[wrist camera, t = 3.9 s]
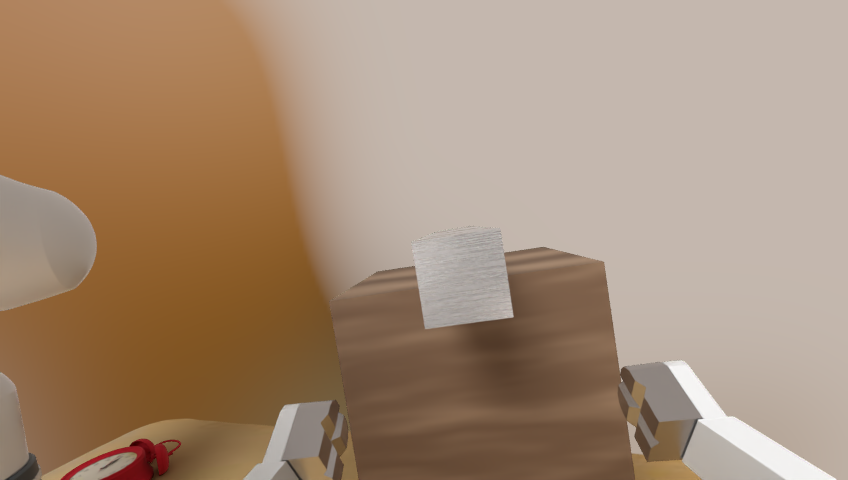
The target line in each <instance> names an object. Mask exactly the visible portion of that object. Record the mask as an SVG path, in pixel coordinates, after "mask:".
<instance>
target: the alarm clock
mask: <svg viewBox="0 0 848 480" xmlns="http://www.w3.org/2000/svg"><path fill="white" fill-rule="evenodd" d="M171 441H172V442H178V443H179V445H178V446H177V447H176V448H175V449H173V450H172V451H170V452H169V453H168V452H167V449H166V447H165V446H164V445H163V443H166V442H171ZM180 445H181V442H180V441H178V440H167V441H163V442H161V443H159V444H156V445H154V444H153V443H152V442H151V441H150V440H148V439H139V440H136V441H134V442H132V443H131V445H130V446H129V447H125V448H121V449H117V450H114V451H111V452H108V453H105V454H102V455H100V456H98V457H95V458H93V459H91V460H89V461H87V462H85V463H83V464H81V465H79V466H78V467H76V468H75V469H73V470H71V471H70V472H69V473H67V474H66V475H65V476H64V477H63V478H62V479H61V480H151V478H152V477H153V474H154V471H153V467H152V466H150V465H149V464H150V463H151V462H152V461H153V460H154V459H155V458H156V459H157V465H158V470H159V476H160V475H162V474H164V473H165V472H166V471H167V469H168V467H169V457H168V456H170V455H172V454H173V451H175V450H176V449H178V448H179V447H180ZM155 455H156V456H155ZM148 462H150V463H148Z"/></svg>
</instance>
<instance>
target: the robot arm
mask: <svg viewBox="0 0 848 480" xmlns="http://www.w3.org/2000/svg"><path fill="white" fill-rule="evenodd" d="M96 249H97V243H96V236H95V233H94V230H93V227H92V225H91V223H90V221H89V220H88V219H87V217H86V216H85V214H84V213H83V212H82V211H81V210H80V209H79V208H78V207H77V206H76V205H75V204H73V203H72V202H71V201H69V200H68V199H66V198H65V197H64V196H61V195H60V194H58V193H56V192H54V191H50V190H46V189H42V188H38V187H34V186H31V185H27V184H24V183H21V182H18V181H15V180H12V179H10V178H7V177H5V176H2V175H0V311H3V310H9V309H12V308H15V307H18V306H22V305H25V304H29V303H32V302H35V301H39V300H42V299H45V298H48V297H51V296H54V295H57V294H60V293H63V292H66V291H69V290H72V289H74V288H76V287H77V286H78V285H79V284H80V283H81V282H82V281H83V280H84V278H85V277H86V276H87V274H88V273H89V271H90V269H91V267H92V265H93V263H94V260H95V256H96ZM620 376H621V378H622V379H623V382H621V383H620V384H619V385H618V392H617V394H618V400H619V404H620V407H621V410H622V412H623V414H624V416H625V418H626V420H627V421H628V422H629V423H631V424H632V425H634V426H635V427H636V432H635V439H636V441H637V442H638V445H639V446H640V448H641V450H642V452H643V454H644V456H645V458H646V460H647V462H654V461H669V460H682V462H683V463H684V464H685V465H686V466H687V467H689V468H690V469H691V470H692V471H693V472H694V473H695V474H697V475H698V476H699V477H700V478H701V479H702V480H837V479H835V478H833V477H832V476H830V475H828V474H827V473H825V472H824V471H822V470H820V469H819V468H817V467H815V466H814V465H812V464H811V463H809V462H807V461H806V460H804V459H802V458H801V457H799V456H797V455H796V454H794V453H793V452H791V451H789V450H788V449H786V448H785V447H783V446H781V445H780V444H778V443H776V442H775V441H773V440H771V439H770V438H768V437H767V436H765V435H763V434H762V433H760V432H758V431H757V430H755V429H754V428H752V427H750V426H749V425H747V424H745V423H744V422H742V421H741V420H739V419H737V418H736V417H734V416H728V417H727V416H726V414H725V413H724V412H723V411H722V409H721V408H720V407H719V405H718V404H717V403H716V401H715V400H714V399H713V397H712V396H711V395H710V393H709V392H708V391H707V390H706V388H705V387H704V385H703V384H702V383H701V381H700V380H699V379H698V377H697V376H696V375H695V374H694V372H693V371H692V370H691V368H690V367H689V366H688V364H687V363H686V362H684V361H683V360H675V361H668V362H655V363H648V364H640V365H632V366H625V367H623V368H622V369H621V373H620ZM347 442H348V426H347V421H346V418H345V416H344V415H342V414H341V413H339V404H338V403H337V401H336V400H331V401H320V402H310V403H299V404H290V405H285V406H284V407H283V409H282V410H281V411H280V414H279V417H278V419H277V422H276V425H275V428H274V431H273V434H272V437H271V439H270V442H269V445H268V448H267V451H266V454H265V456H264V459H263V462H262V463H260V464H257V465H256V466H255V467H254V468H253V469H252V470H251V471H250V472H249V473H248V475H247V476H246V477H245V478H244V479H243V480H341V478H342V472H343V466H344V465H343V463H342V461H341V459H340V456H341V455H342V454H343V453H344V451H345V450H346V448H347ZM41 476H42V472H41V468H40V465H39V464H37V460H36V457H35V455H33V454H31V453H28V449H27V443H26V438H25V432H24V428H23V422H22V417H21V411H20V406H19V401H18V396H17V390H16V386H15V385H14V383H13V382H12V381H11V380H10V379H9V378H8V377H7V376H6V375H4V374H3V373H1V372H0V480H41Z"/></svg>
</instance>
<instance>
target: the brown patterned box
mask: <svg viewBox="0 0 848 480" xmlns="http://www.w3.org/2000/svg"><path fill="white" fill-rule="evenodd" d="M504 256H505V263H506V270H507V276H508V283H509V290H510V296H511V303H512V309H513V316H514V317H513V318H505V319H498V320H490V321H483V322H475V323H468V324H460V325H453V326H445V327H438V328H430V329H425V326H424V319H423V313H422V307H421V300H420V294H419V288H418V281H417V275H416V269H415V266H412V267H405V268H398V269H392V270H385V271H378V272H376V273H374V274H373V275H371V276H370V277H368V278H366V279H365V280H363V281H361V282H360V283H358V284H357V285H355V286H353V287H352V288H350V289H348V290H347V291H345V292H344V293H342V294H340V295H339V296H337V297H335V298H334V299H332V300H331V301H329V302H330V308H331V314H332V319H333V326H334V332H335V338H336V344H337V350H338V357H339V363H340V368H341V375H342V381H343V387H344V393H345V398H346V405H347V411H348V417H349V423H350V429H351V435H352V441H353V447H354V453H355V460H356V466H357V472H358V478H359V480H635V475H634V468H633V461H632V454H631V448H630V440H629V434H628V427H627V420H626V418H625V416H624V414H623V412H622V410H621V407H620V404H619V400H618V394H617V392H618V385H619V384H620V383H621V378H620V371H619V364H618V357H617V350H616V343H615V336H614V329H613V322H612V315H611V308H610V301H609V294H608V287H607V280H606V273H605V266H604V262H602V261H598V260H594V259H590V258H586V257H582V256H578V255H574V254H570V253H566V252H562V251H558V250H554V249H549V248H545V247H540V248H534V249H526V250H520V251H513V252H506V253H504Z"/></svg>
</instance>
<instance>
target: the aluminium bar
mask: <svg viewBox="0 0 848 480" xmlns="http://www.w3.org/2000/svg"><path fill="white" fill-rule="evenodd" d="M411 243H412V250H413V256H414V261H415V269H416V275H417V281H418V288H419V294H420V300H421V307H422V313H423V319H424V326H425V329H430V328H438V327H445V326H453V325H460V324H468V323H475V322H483V321H490V320H498V319H505V318H513V317H514V316H513V309H512V303H511V296H510V290H509V283H508V276H507V270H506V263H505V256H504V250H503V243H502V237H501V230H500V228H487V227H474V226H468V227H462V228H456V229H449V230H443V231H437V232H435V233H432V234H430V235H428V236H425V237H423V238H420V239H418V240H415V241H413V242H411Z"/></svg>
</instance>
